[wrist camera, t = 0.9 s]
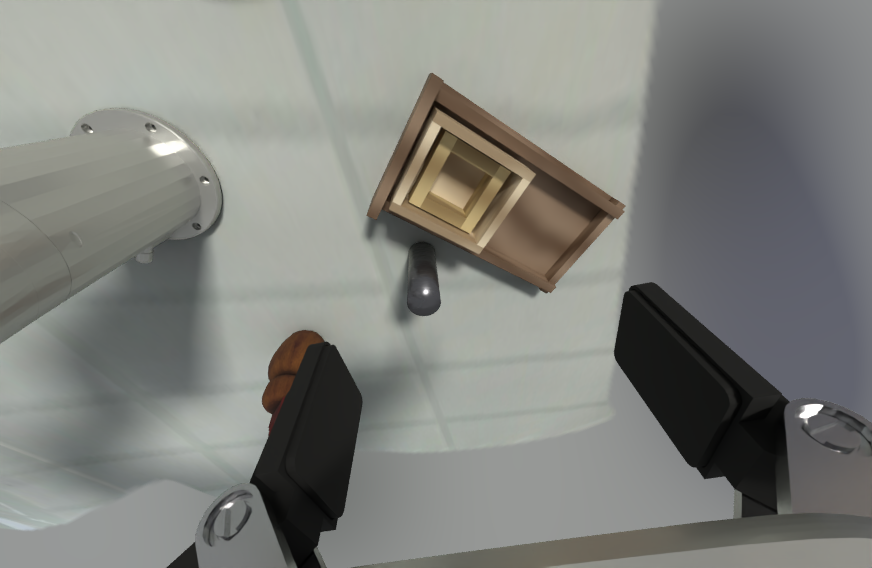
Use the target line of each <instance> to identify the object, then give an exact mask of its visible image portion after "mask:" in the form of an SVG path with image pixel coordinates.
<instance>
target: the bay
mask: <svg viewBox="0 0 872 568" xmlns="http://www.w3.org/2000/svg"><path fill="white" fill-rule="evenodd" d="M443 81H444V80H442V79H441V78H439V77H438V76H436V75H435V74H433V73H430V74H429V76H428V78H427V81H426V83H425V85H424V87H423V89H422V92H421V94H420V96H419V98H418V100H417V102H416V105H415V107H414V109H413V111H412V113H411V115H410V118H409V120H408V122H407V124H406V126H405V129H404V131H403V133H402V135H401V137H400V139H399V142H398V144H397V146H396V148H395V150H394V153H393V155H392V157H391V159H390V161H389V163H388V166H387V168H386V170H385V172H384V174H383V176H382V179H381V181H380V183H379V185H378V187H377V190H376V192H375V194H374V196H373V198H372V201H371V204H370V207H369V210H368V213H367V216H369V217H371V218H373V219H375V220H377V217H378V215H379V213H380V211H381V209H382V210H384V211H386V212H388V213H390V214H392V215H394V216H396V217H398V218H400V219H403V220H405V221H407V222H409V223H411V224H413V225H415V226H417V227H419V228H421V229H423V230H425V231H427V232H429V233H431V234H433V235H435V236H437V237H439V238H441V239H443V240H445V241H447V242H449V243H451V244H453V245H455V246H457V247H459V248H461V249H463V250H465V251H467V252H469V253H471V254H473V255H475V256H477V257H479V258H481V259H483V260H485V261H487V262H489V263H491V264H493V265H495V266H497V267H499V268H501V269H503V270H505V271H507V272H509V273H512V274H514V275H516V276H518V277H520V278H522V279H524V280H526V281H528V282H530V283H532V284H534V285H536V286H538V287H539V289H540V290H541V291H543V292H545V293H548V292H550V293H551V292H552V291H553V290H554V289H555V288H556V286H555V284H556V283H557V282H558V280H559V279H560V278H561V277H562V276H563V275H564V274H565V273H566V272H567V270H568V269H569V268H570V267H571V266H572V265H573V264H574V263H575V262H576V260H577V259H578V258H579V257H580V256H581V255H582V254H583V253H584V252H585V250H586V249H587V248H588V247H589V246H590V245H591V244H592V243H593V242H594V240H595V239H596V238H597V237H598V236H599V235H600V234H601V233H602V232H603V231H604V229H605V228H606V227H607V226H608V225H609V224H610V223H611V222H612V221H613V219H614V218H616V219H618V218H619V217H620V216H621V215H622V214H623V213H624V212H625V211H623V210H622V209H623V208H624V207H625V205H624V204H622V203H621V202H619V201H618V200H616V199H614V198H613V197H611V196H610V195H608V194H607V193H605V192H604V191H602V190H601V189H599V188H598V187H596V186H595V185H593V184H592V183H591V182H589V181H588V180H586V179H585V178H583V177H582V176H580V175H579V174H577V173H576V172H574V171H573V170H571V169H570V168H569V167H567V166H566V165H564V164H563V163H561V162H560V161H558V160H557V159H555V158H554V157H552V156H551V155H549V154H548V153H546V152H545V151H544V150H542V149H541V148H539V147H538V146H536V145H535V144H533V143H532V142H530V141H529V140H527V139H526V138H524V137H523V136H521V135H520V134H519V133H517V132H516V131H514V130H513V129H511V128H510V127H508V126H507V125H505V124H504V123H502V122H501V121H499V120H498V119H496V118H495V117H494V116H492V115H491V114H489V113H488V112H486V111H485V110H483V109H482V108H480V107H479V106H477V105H476V104H474V103H473V102H471V101H470V100H469V99H467V98H466V97H464V96H463V95H461V94H460V93H458V92H457V91H455V90H454V89H452V88H451V87H449V86H448V85H446V84H445V83H444V82H443ZM434 106H435V107H436V108H438V109H439V110H441V111H442V112H444V113H445V114H447V115H449V116H450V117H452V118H453V119H455V120H456V121H458V122H459V123H461V124H462V125H464V126H466V127H467V128H469V129H470V130H472V131H473V132H475V133H476V134H478V135H480V136H481V137H483V138H484V139H486V140H487V141H489V142H490V143H492V144H493V145H495V146H497V147H498V148H500V149H501V150H503V151H504V152H506V153H507V154H509V155H511V156H512V157H514V158H515V159H517V160H518V161H520V162H521V163H522V164H524V165H525V166H526V167H527V168H529V169H530V170H531V171H532V172H534V173H535V174H536V175H535V176H534V178H533V179H532V181H531V182H530V183H529V185H528V186H527V188H526V189H525V190H524V192H523V193H522V195H521V196H520V198H519V199H518V200H517V202H516V203H515V205H514V206H513V207H512V209H511V210H510V212H509V213H508V214H507V216H506V217H505V219H504V220H503V222H502V223H501V224H500V226H499V227H498V229H497V230H496V231H495V233H494V234H493V236H492V237H491V238H490V240H489V241H488V243H487V244H486V246H485V247H484V248H483V250H482V251H481V253H480V254H477V253H475V252H473V251H471V250H469V249H467V248H465V247H463V246H461V245H459V244H457V243H455V242H453V241H451V240H449V239H447V238H445V237H443V236H441V235H439V234H437V233H435V232H433V231H431V230H429V229H427V228H425V227H423V226H421V225H419V224H417V223H415V222H413V221H411V220H409V219H407V218H405V217H403V216H401V215H399V214H397V213H395V212H393V211H391V210H389V206H390V201H391V195H392V192H393V189H394V187H395V185H396V183H397V181H398V179H399V177H400V175H401V173H402V171H403V169H404V167H405V165H406V163H407V161H408V159H409V157H410V155H411V153H412V151H413V148H414V146H415V144H416V142H417V140H418V138H419V136H420V134H421V132H422V130H423V128H424V126H425V124H426V122H427V120H428V118H429V116H430V114H431V112H432V109H433V107H434Z"/></svg>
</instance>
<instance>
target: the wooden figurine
mask: <svg viewBox="0 0 872 568" xmlns="http://www.w3.org/2000/svg"><path fill="white" fill-rule="evenodd" d="M321 342H324V340H323V339H322V337H321V336H320V335H319V334H317V333H316V332H313V331H308V330H302V331H298V332H295V333H293V334H292V335H291V336H290V337H289V338H287V339H286V340H285V341H284V342H283V343H282V344H281V346H280V347H279V348H278V350H277V351H276V352H275V354H274V355H273V357H272V359H271V361H270V364H269V368H268V378H269V380H270V382H269V383H268V385H267V387H266V389H265V391H264V394H263V396H262V405H263V407H264V408H265V410H266V411H267V412H269V413H271V414H272V417H271V421H270V424H269V427H268V428H269V435H270V432H271V430H272V427H273V425H274V423H275V420H276V418H277V416H278V413H279V411H280V408H281V406H282V404H283V401H284V399H285V396H286V395H287V393H288V391H289V390H290V388H291V386H292V383H293V381H294V378H295V376H296V374H297V371H298V369H299V366H300V364H301V361H302V359H303V357H304V354H305V352H306V349H307V347H308V346H309V345H310V344H316V343H321ZM269 435H268V436H269Z"/></svg>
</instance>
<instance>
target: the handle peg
mask: <svg viewBox="0 0 872 568" xmlns="http://www.w3.org/2000/svg"><path fill="white" fill-rule="evenodd" d="M440 304H441V300H440V291H439V283H438V274H437V266H436V257H435V250H434V248H433V247H432V246H431V245H430V244H428V243H426V242H418V243H415V244H414V245H413V246H412V247H411V248H410V250H409V265H408V297H407V305H408V308H409V309H410V311H411V312H412V313H414V314H416V315H419V316H428V315H431V314H433V313H435V312H436V311H437V310H438V309H439V307H440Z"/></svg>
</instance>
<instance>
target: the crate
mask: <svg viewBox="0 0 872 568" xmlns="http://www.w3.org/2000/svg"><path fill="white" fill-rule="evenodd" d="M535 175H536V174H535V173H534V172H532V171H531V170H530V169H529V168H527V167H526V166H525V165H524V164H522V163H521V162H520V161H518V160H517V159H515V158H514V157H512V156H511V155H509V154H507V153H506V152H504V151H503V150H501V149H500V148H498V147H497V146H495V145H493V144H492V143H490V142H489V141H487V140H486V139H484V138H483V137H481V136H480V135H478V134H476V133H475V132H473V131H472V130H470V129H469V128H467V127H466V126H464V125H462V124H461V123H459V122H458V121H456V120H455V119H453V118H452V117H450V116H449V115H447V114H445V113H444V112H442V111H441V110H439V109H438V108H436V107H435V106H434V107H433V109H432V112H431V114H430V116H429V118H428V120H427V122H426V124H425V126H424V128H423V130H422V132H421V134H420V136H419V138H418V140H417V142H416V144H415V146H414V148H413V151H412V153H411V155H410V157H409V159H408V161H407V163H406V165H405V167H404V169H403V171H402V173H401V175H400V177H399V179H398V181H397V183H396V185H395V187H394V189H393V192H392V195H391V201H390V206H389V210H391V211H393V212H395V213H397V214H399V215H401V216H403V217H405V218H407V219H409V220H411V221H413V222H415V223H417V224H419V225H421V226H423V227H425V228H427V229H429V230H431V231H433V232H435V233H437V234H439V235H441V236H443V237H445V238H447V239H449V240H451V241H453V242H455V243H457V244H459V245H461V246H463V247H465V248H467V249H469V250H471V251H473V252H475V253H477V254H480V253H481V251H482V250H483V248H484V247H485V246H486V244H487V243H488V241H489V240H490V238H491V237H492V236H493V234H494V233H495V231H496V230H497V229H498V227H499V226H500V224H501V223H502V222H503V220H504V219H505V217H506V216H507V214H508V213H509V212H510V210H511V209H512V207H513V206H514V205H515V203H516V202H517V200H518V199H519V198H520V196H521V195H522V193H523V192H524V190H525V189H526V188H527V186H528V185H529V183H530V182H531V181H532V179H533V178H534V176H535Z"/></svg>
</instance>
